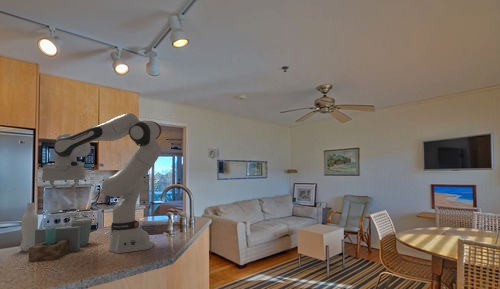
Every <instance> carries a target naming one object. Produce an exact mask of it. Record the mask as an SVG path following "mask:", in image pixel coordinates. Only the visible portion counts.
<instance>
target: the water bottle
mask: <svg viewBox="0 0 500 289" xmlns="http://www.w3.org/2000/svg"><path fill="white" fill-rule="evenodd" d="M26 205H27V206H26V210H25V212H24V214H23V215H22V217H21V227H20V228H21V229H20V232H21V236H22V237H21V243H20V246H19V249H20V251H21V252H29V248H30V247H32V246H34V245H35V230H37V229H39V215H38V213H37V212H36V210H35V202H27V204H26Z"/></svg>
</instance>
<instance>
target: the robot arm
mask: <svg viewBox="0 0 500 289" xmlns="http://www.w3.org/2000/svg"><path fill="white" fill-rule="evenodd" d="M128 135H129V137H130V139H131V140H132V141H133V142H135V145H137V146H138V147H139V148H138V150H137V151H136V152H135V154H134V155H133V156H132V157H131V159H130V160H129V162H128V163H126V164H125V165H124V166H123V167H121V168H120V169H119V170H118V171H117V172H115V173H114V174H113V175H111V176H109V177H106V178H105V179H104V180H103V182H102V184H101V190H102V193H103V194H104V195H105V196H108V197H115V198H116V197H119V198H118V201H117V203H115V205H114V206H113V207H112V221H111V227H110V230H111V237H110V244H109V247H108V251H109V252H113V253H116V254H122V253H131V252H138V251H146V250H149V249H152V248H153V247H154V245H155V242H154V241H153V240H150V235H149V233H148V232H147V231H145V230H144V229H142V228H141V227H140V220H136V206H137V202H138V200H139V196H140V194H141V192H142V191H143V190H144V189H145V186H146V183H145V179H144V177H145V176H147V173H149V171H150V170H151V169H152V167H153V166H154V164H155V163H156V162H157V161H158V159H159V157H160V155H161V153H162V151H163V150H162V146H161V144H160V143H159V142H157V139H158V138H159V137H160V136H161V135H162V127H161V125H160V124H159V123H158V122H155V121H153V120H142V121H141V120H139V117H138V116H137V115H135V114H134V113H133V112H126V113H124V114H120V115H118V116H116V117H114V118H112V119H110V120H109V119H108V121H106V122H103V123H101V124H99V125H95V126H93V127H90V128H87V129H85V130H83V131H80V132H78V133H75V134H72V133H62V134H59V135H57V137H56V141H55V142H54V147H53V149H54V152H55V158H54V163H46V164H44V165H43V166H42V175H41V180H42V181H43V182H48V181H49V184H50V186H51V190H56V189H57V185H55V184H54V183H55V181H73V184H72V185H71V186H70V189H76V187H77V184H78V183H79V181H82V180H85V179H86V176H87V174H86V168H85V167H84V166H85V163H84V162H82V161H78V160H75V158H84V157H87V156H88V155H90V154H91V152H92V145H91V142H100V141H102V142H106V141H107V142H114V141H118V140H120V139H123V138H125V137H127V136H128Z"/></svg>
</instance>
